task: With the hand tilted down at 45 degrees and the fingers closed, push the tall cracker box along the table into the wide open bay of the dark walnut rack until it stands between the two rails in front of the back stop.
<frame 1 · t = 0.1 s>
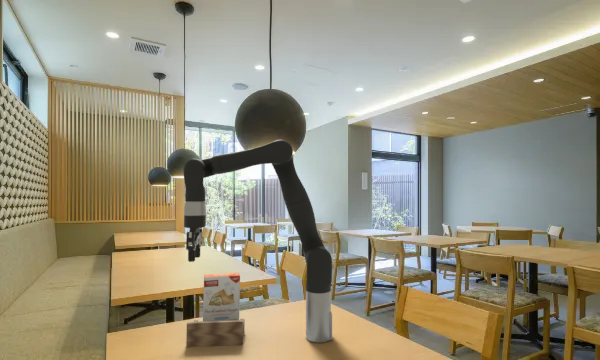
hand: (194, 259, 120), 29 cm above the table, tool pointing down, fingers open, 8 cm apart
cracker box: (221, 328, 132), on the table
walnut rack: (217, 338, 122), on the table
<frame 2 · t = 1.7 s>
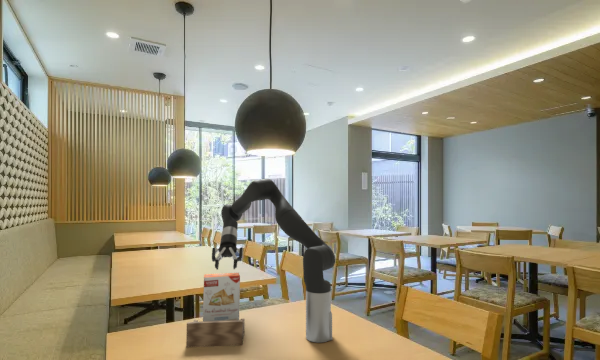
hand: (225, 268, 147), 21 cm above the table, tool tilted 45°, fingers open, 7 cm apart
nothing on the table moved.
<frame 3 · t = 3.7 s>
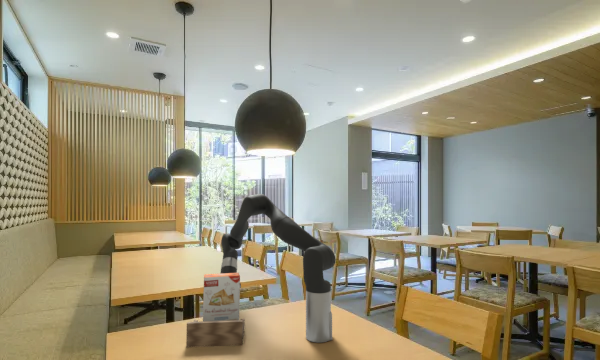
hand: (225, 303, 145), 5 cm above the table, tool tilted 45°, fingers closed
nothing on the table moved.
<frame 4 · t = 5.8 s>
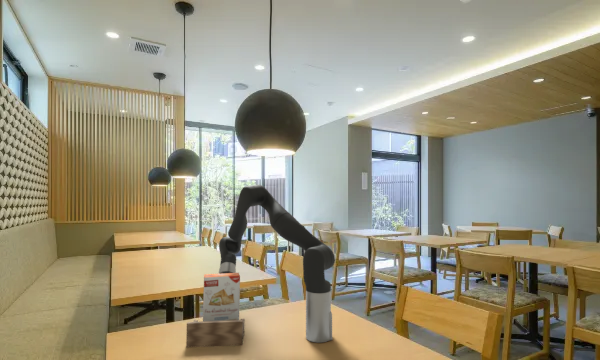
hand: (222, 312, 136), 5 cm above the table, tool tilted 45°, fingers closed
cracker box: (221, 328, 132), on the table, touching gripper
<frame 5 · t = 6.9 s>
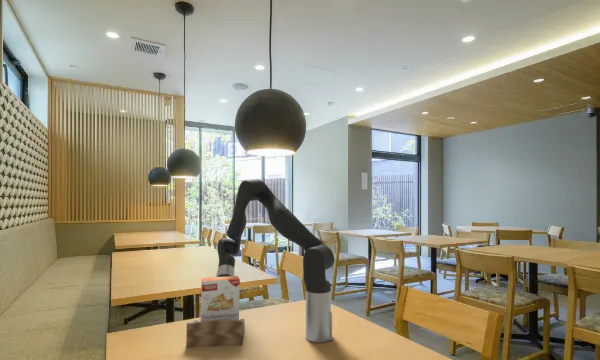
hand: (220, 317, 130), 5 cm above the table, tool tilted 45°, fingers closed
cracker box: (219, 334, 126), on the table, touching gripper
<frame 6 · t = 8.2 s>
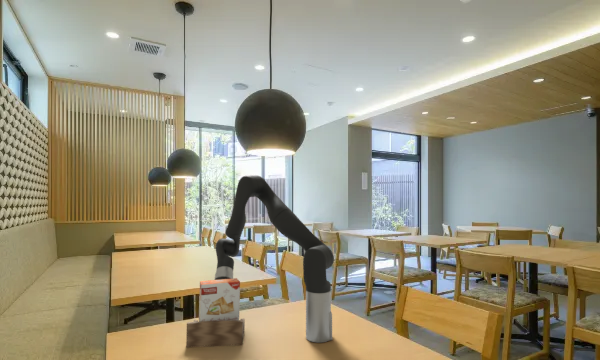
hand: (218, 321, 126), 5 cm above the table, tool tilted 45°, fingers closed
cracker box: (218, 339, 122), on the table, touching gripper, walnut rack
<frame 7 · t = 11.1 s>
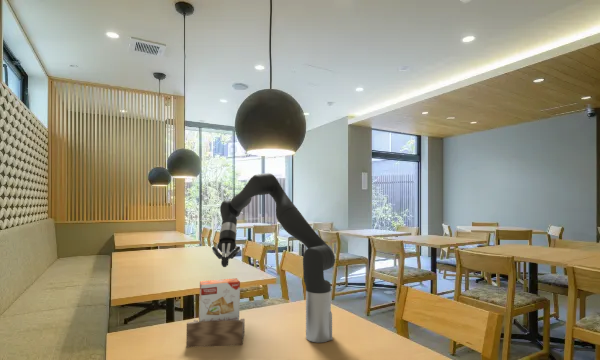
hand: (224, 265, 143), 22 cm above the table, tool tilted 45°, fingers closed
cracker box: (218, 339, 122), on the table
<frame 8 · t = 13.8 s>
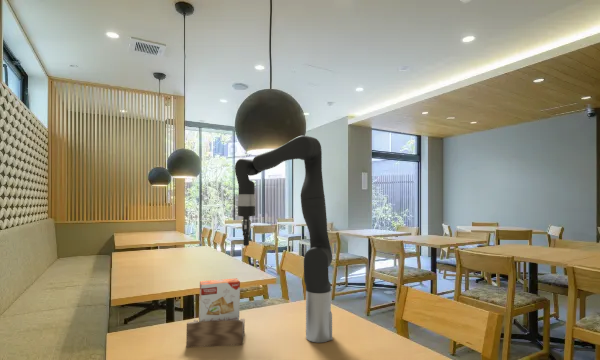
hand: (246, 245, 144), 31 cm above the table, tool pointing down, fingers closed
nothing on the table moved.
at the end: cracker box inside the target area (0.9 cm from its centre), on the table; cracker box tilted 0°; cracker box moved 10.5 cm from its start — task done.
